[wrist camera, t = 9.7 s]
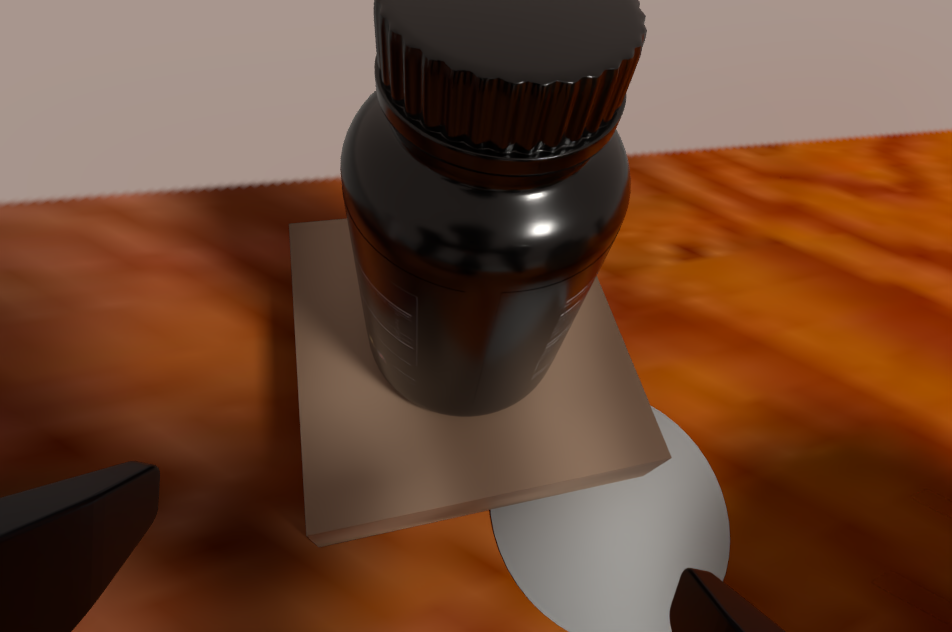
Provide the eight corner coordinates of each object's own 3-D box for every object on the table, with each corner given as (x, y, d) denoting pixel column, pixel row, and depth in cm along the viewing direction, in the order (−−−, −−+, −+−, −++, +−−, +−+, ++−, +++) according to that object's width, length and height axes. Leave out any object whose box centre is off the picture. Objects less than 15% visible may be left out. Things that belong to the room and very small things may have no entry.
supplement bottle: (493, 240, 22) (570, -108, 11) (586, 373, 19) (799, 71, 9) (337, 297, 19) (257, -76, 9) (416, 459, 16) (430, 185, 6)
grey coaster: (755, 489, 20) (764, 486, 20) (655, 715, 16) (663, 718, 16) (569, 356, 23) (573, 349, 22) (437, 524, 18) (439, 521, 18)
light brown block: (551, 234, 25) (564, 199, 23) (643, 476, 20) (672, 457, 17) (300, 261, 23) (288, 223, 21) (319, 547, 17) (306, 536, 15)
